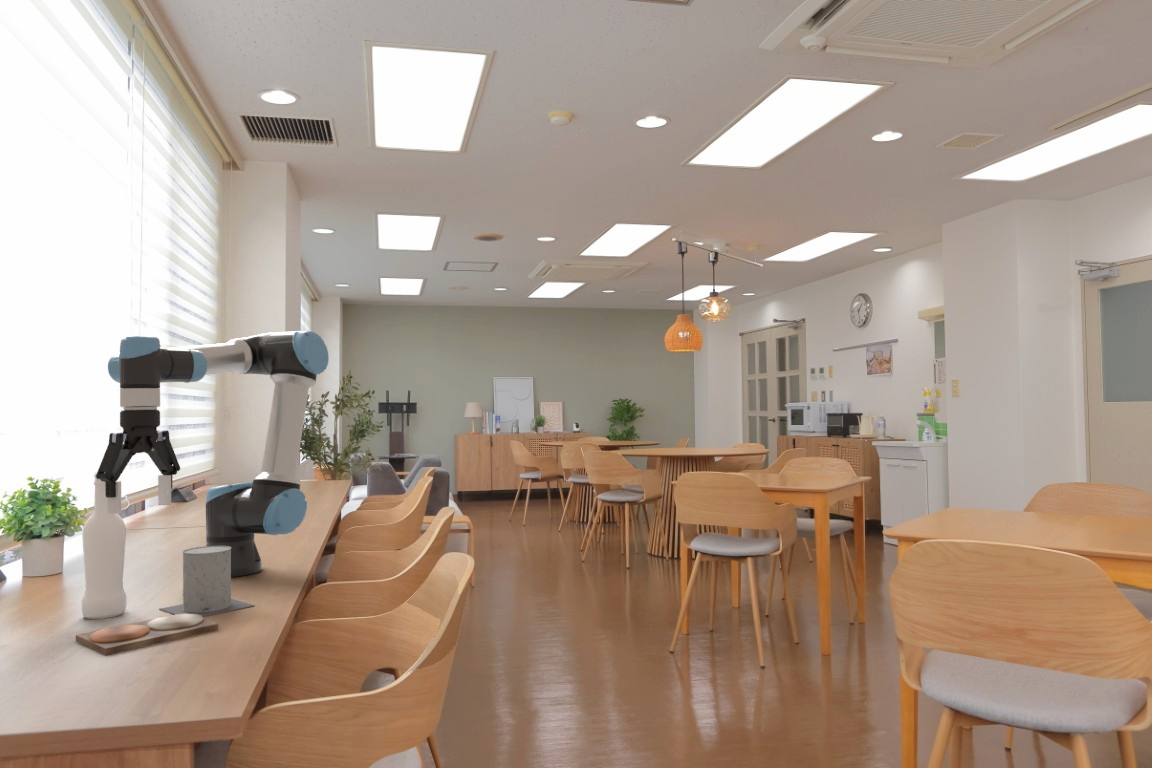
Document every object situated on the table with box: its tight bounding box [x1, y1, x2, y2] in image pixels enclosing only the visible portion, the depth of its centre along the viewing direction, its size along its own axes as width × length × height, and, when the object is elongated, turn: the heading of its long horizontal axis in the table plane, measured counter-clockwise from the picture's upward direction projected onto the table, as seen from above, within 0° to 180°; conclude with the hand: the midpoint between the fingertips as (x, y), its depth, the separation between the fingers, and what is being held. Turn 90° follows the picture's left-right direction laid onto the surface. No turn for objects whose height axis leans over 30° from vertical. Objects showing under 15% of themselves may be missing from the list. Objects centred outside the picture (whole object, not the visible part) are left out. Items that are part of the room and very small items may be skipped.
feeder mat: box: [159, 598, 256, 618], centre depth 173 cm, size 14×14×1 cm
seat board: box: [75, 613, 219, 656], centre depth 152 cm, size 20×14×2 cm
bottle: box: [81, 471, 127, 620], centre depth 168 cm, size 8×8×30 cm
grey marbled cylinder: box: [182, 545, 232, 613], centre depth 173 cm, size 10×10×12 cm
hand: (140, 509), depth 170 cm, fingers open, 13 cm apart
